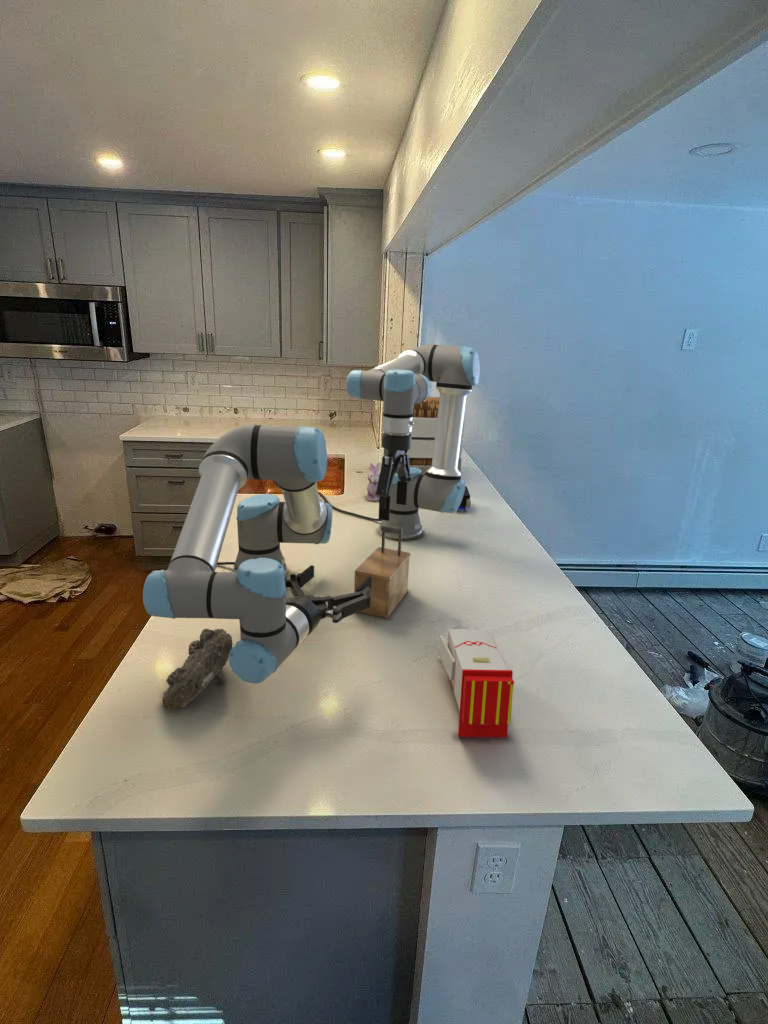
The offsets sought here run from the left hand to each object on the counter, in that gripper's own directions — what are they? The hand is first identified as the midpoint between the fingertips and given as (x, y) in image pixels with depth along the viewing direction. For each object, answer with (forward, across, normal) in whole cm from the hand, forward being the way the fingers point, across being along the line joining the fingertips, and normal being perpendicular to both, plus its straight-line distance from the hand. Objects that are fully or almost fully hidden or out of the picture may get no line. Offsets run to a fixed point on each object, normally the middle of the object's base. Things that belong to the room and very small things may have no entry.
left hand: (340, 576), depth 123 cm
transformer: (+154, -28, -18) cm, 158 cm away
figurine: (+108, -33, -18) cm, 115 cm away
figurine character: (+113, +2, -18) cm, 115 cm away
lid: (+28, 0, -8) cm, 29 cm away
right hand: (+33, 0, +5) cm, 33 cm away
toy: (-1, +31, -20) cm, 36 cm away
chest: (+27, 0, -19) cm, 33 cm away
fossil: (-20, -22, -20) cm, 36 cm away
